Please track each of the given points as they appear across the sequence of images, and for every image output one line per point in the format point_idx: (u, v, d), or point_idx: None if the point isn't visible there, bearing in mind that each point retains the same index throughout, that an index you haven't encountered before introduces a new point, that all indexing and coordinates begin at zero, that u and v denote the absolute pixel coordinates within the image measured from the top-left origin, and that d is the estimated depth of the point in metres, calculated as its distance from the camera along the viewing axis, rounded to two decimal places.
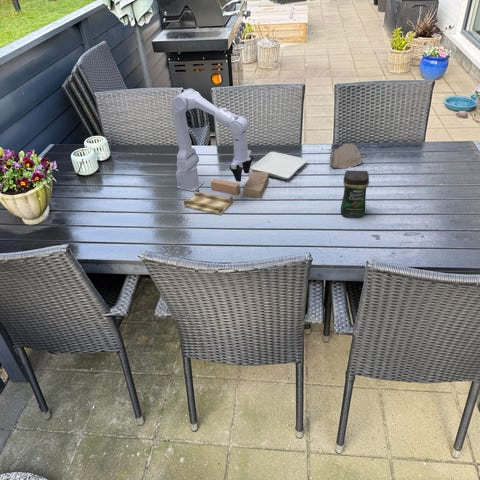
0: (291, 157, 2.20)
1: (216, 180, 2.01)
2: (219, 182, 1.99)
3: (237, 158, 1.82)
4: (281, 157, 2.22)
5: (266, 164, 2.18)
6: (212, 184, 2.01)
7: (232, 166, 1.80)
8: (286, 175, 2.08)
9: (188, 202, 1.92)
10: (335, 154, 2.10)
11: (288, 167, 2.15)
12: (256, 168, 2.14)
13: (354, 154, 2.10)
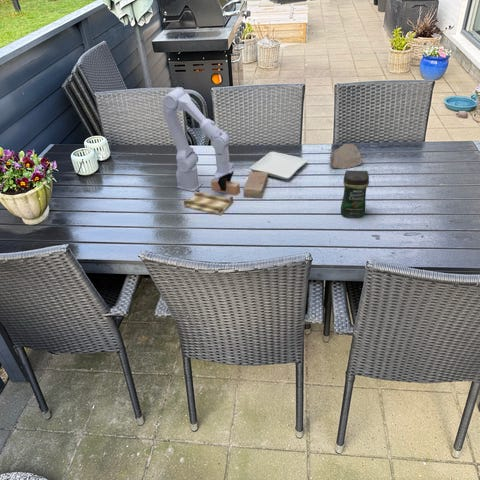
0: (291, 157, 2.20)
1: None
2: None
3: (219, 171, 1.93)
4: (281, 157, 2.22)
5: (266, 164, 2.18)
6: (213, 184, 2.01)
7: (214, 178, 1.91)
8: (286, 175, 2.08)
9: (188, 202, 1.92)
10: (335, 154, 2.10)
11: (288, 167, 2.15)
12: (256, 168, 2.14)
13: (354, 154, 2.10)
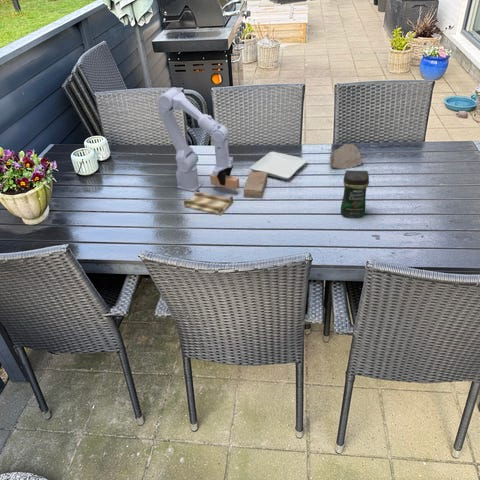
0: (291, 157, 2.20)
1: None
2: None
3: (219, 165, 1.91)
4: (281, 157, 2.22)
5: (266, 164, 2.18)
6: (212, 178, 1.99)
7: (214, 172, 1.89)
8: (286, 175, 2.08)
9: (188, 202, 1.92)
10: (335, 154, 2.10)
11: (288, 167, 2.15)
12: (256, 168, 2.14)
13: (354, 154, 2.10)
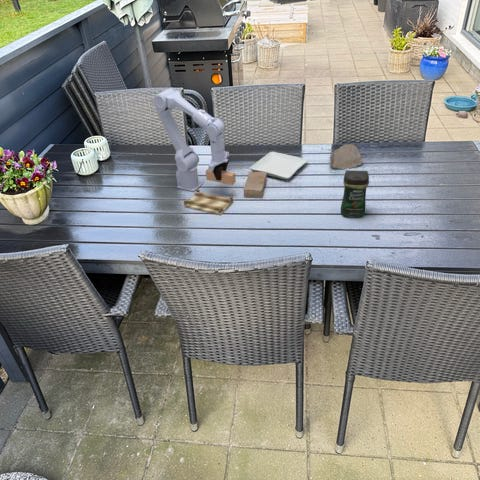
0: (291, 157, 2.20)
1: None
2: None
3: (214, 159, 1.87)
4: (281, 157, 2.22)
5: (266, 164, 2.18)
6: (208, 173, 1.95)
7: (209, 167, 1.85)
8: (286, 175, 2.08)
9: (188, 202, 1.92)
10: (335, 155, 2.09)
11: (288, 167, 2.15)
12: (256, 168, 2.14)
13: (354, 155, 2.10)
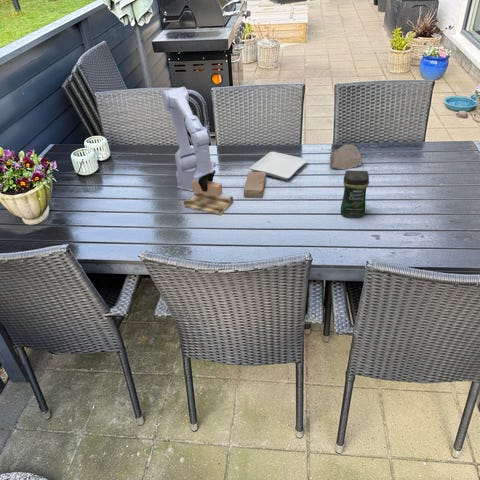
0: (291, 157, 2.20)
1: None
2: None
3: (200, 170, 1.81)
4: (281, 157, 2.22)
5: (266, 164, 2.18)
6: (193, 184, 1.88)
7: (194, 178, 1.78)
8: (286, 175, 2.08)
9: (188, 202, 1.92)
10: (335, 155, 2.09)
11: (288, 167, 2.15)
12: (256, 168, 2.14)
13: (354, 155, 2.10)
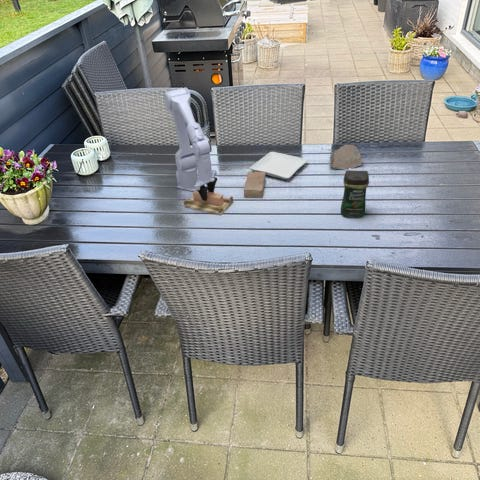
0: (291, 157, 2.20)
1: None
2: None
3: (201, 179, 1.83)
4: (281, 157, 2.22)
5: (266, 164, 2.18)
6: (195, 195, 1.91)
7: (195, 187, 1.81)
8: (286, 175, 2.08)
9: (188, 202, 1.92)
10: (335, 155, 2.09)
11: (288, 167, 2.15)
12: (256, 168, 2.14)
13: (354, 155, 2.09)
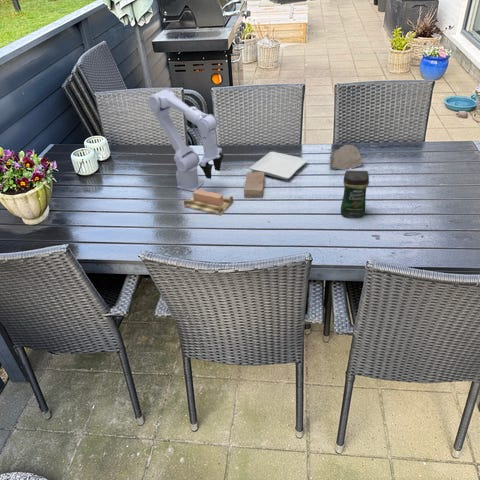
0: (291, 157, 2.20)
1: (199, 191, 1.92)
2: (202, 193, 1.90)
3: (206, 155, 1.86)
4: (281, 157, 2.22)
5: (266, 164, 2.18)
6: (195, 195, 1.91)
7: (201, 163, 1.84)
8: (286, 175, 2.08)
9: (188, 202, 1.92)
10: (335, 155, 2.09)
11: (288, 167, 2.15)
12: (256, 168, 2.14)
13: (354, 155, 2.09)
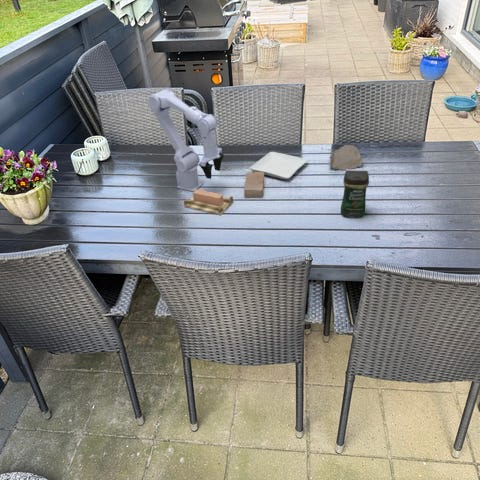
0: (291, 157, 2.20)
1: (199, 191, 1.92)
2: (202, 193, 1.90)
3: (207, 155, 1.86)
4: (281, 157, 2.22)
5: (266, 164, 2.18)
6: (195, 195, 1.91)
7: (201, 163, 1.84)
8: (286, 175, 2.08)
9: (188, 202, 1.92)
10: (335, 155, 2.09)
11: (288, 167, 2.15)
12: (256, 168, 2.14)
13: (354, 156, 2.09)
